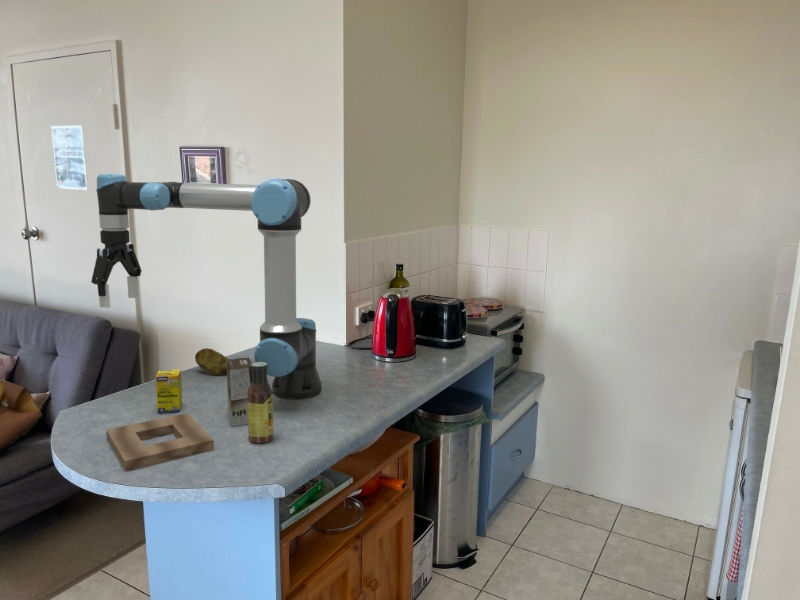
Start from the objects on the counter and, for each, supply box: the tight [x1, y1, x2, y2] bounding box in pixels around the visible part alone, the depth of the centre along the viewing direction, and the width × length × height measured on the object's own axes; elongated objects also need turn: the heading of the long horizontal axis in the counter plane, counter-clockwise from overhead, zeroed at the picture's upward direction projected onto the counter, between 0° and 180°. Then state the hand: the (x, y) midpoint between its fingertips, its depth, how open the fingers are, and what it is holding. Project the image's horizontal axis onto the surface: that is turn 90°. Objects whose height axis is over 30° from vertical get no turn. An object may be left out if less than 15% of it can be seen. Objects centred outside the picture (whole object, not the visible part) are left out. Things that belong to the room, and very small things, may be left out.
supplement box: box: [155, 368, 183, 414], centre depth 168 cm, size 6×6×11 cm
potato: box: [195, 347, 229, 376], centre depth 199 cm, size 8×13×8 cm, turn 58°
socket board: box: [106, 412, 215, 472], centre depth 147 cm, size 20×20×2 cm
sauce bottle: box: [247, 361, 274, 444], centre depth 150 cm, size 7×6×20 cm
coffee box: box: [226, 357, 253, 427], centre depth 162 cm, size 9×6×16 cm
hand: (119, 302), depth 174 cm, fingers open, 13 cm apart
